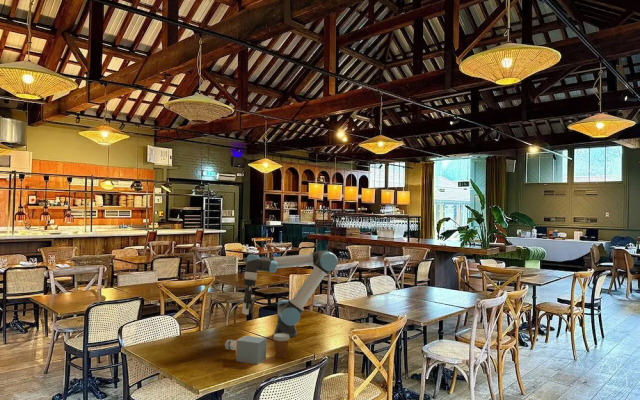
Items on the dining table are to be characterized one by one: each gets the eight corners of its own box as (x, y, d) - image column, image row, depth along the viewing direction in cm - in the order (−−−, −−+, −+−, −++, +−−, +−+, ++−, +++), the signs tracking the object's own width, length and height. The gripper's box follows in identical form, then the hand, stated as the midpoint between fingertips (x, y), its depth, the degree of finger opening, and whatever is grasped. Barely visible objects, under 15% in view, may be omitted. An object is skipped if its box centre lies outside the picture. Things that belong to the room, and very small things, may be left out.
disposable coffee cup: (282, 360, 247) (283, 338, 247) (269, 356, 252) (269, 335, 252) (292, 355, 255) (293, 334, 255) (279, 352, 260) (279, 331, 260)
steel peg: (224, 350, 247) (225, 340, 247) (229, 347, 252) (229, 338, 252) (243, 352, 243) (244, 343, 243) (248, 350, 248) (248, 340, 248)
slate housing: (235, 360, 243) (236, 340, 243) (244, 355, 252) (245, 335, 253) (257, 364, 238) (258, 343, 239) (266, 358, 248) (266, 338, 249)
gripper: (242, 278, 290) (237, 312, 285) (245, 278, 266) (240, 314, 261) (253, 280, 291) (249, 313, 287) (258, 279, 268) (253, 315, 263)
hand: (245, 313), depth 274 cm, fingers open, 13 cm apart
